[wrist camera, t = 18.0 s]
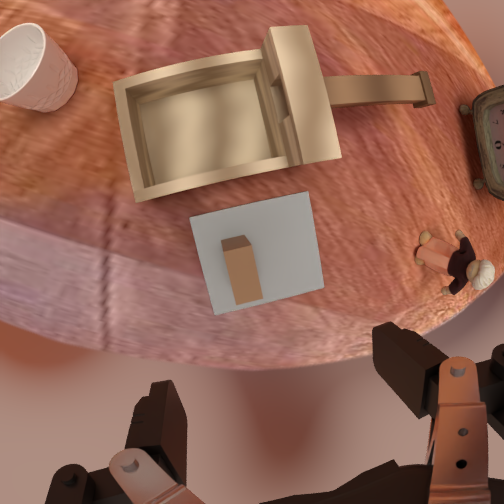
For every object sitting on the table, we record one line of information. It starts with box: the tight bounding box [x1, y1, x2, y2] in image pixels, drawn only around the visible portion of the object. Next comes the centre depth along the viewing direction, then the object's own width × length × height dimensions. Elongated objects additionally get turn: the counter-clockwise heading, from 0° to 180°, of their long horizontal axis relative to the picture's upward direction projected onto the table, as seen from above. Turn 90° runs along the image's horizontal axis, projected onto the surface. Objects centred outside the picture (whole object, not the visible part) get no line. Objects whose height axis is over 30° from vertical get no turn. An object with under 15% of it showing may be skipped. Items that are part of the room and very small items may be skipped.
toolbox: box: [113, 25, 342, 203], centre depth 26 cm, size 16×11×11 cm
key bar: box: [323, 71, 436, 109], centre depth 23 cm, size 12×3×2 cm, turn 102°
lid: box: [190, 191, 324, 315], centre depth 31 cm, size 13×11×7 cm
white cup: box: [0, 23, 78, 113], centre depth 22 cm, size 8×8×10 cm
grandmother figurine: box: [415, 230, 495, 295], centre depth 31 cm, size 8×4×13 cm, turn 0°
